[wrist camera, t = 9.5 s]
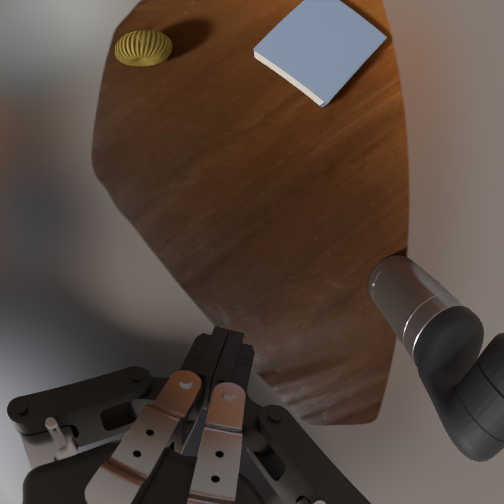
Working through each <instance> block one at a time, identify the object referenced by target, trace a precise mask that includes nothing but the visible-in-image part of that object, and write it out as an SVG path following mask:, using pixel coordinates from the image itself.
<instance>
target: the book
mask: <svg viewBox="0 0 504 504" xmlns="http://www.w3.org/2000/svg"><path fill="white" fill-rule="evenodd" d="M386 38H387V37H386V36H385V35H384V34H382V33H381V32H380V31H379V30H378V29H377V28H375V27H374V26H373V25H372V24H370V23H369V22H368V21H367V20H365V19H364V18H363V17H362V16H360V15H359V14H358V13H356V12H355V11H354V10H352V9H351V8H349V7H348V6H347V5H345V4H344V3H342V2H341V1H340V0H304V1H303V2H302V3H301V4H299V5H298V6H297V7H296V8H295V9H294V10H293V11H292V12H291V13H289V14H288V15H287V16H286V17H285V18H284V19H283V20H282V21H281V22H280V23H279V24H278V25H277V26H276V27H275V28H274V29H273V30H272V31H271V32H270V33H269V34H268V35H267V36H266V37H265V38H264V39H263V40H262V41H261V42H260V43H259V44H258V45H257V46H256V47H255V48H254V49H253V50H254V55H255V56H254V57H255V58H256V59H258V60H259V61H261V62H262V63H264V64H265V65H266V66H268V67H269V68H271V69H272V70H274V71H275V72H276V73H278V74H279V75H281V76H282V77H283V78H285V79H286V80H287V81H289V82H290V83H292V84H293V85H294V86H296V87H297V88H298V89H299V90H301V91H302V92H303V93H305V94H306V95H307V96H308V97H310V98H311V99H312V100H313V101H315V102H316V103H317V104H318V105H320V106H321V107H322V108H323V107H324V106H325V105H327V104H328V103H329V102H330V100H331V99H332V98H333V97H334V96H335V95H336V94H337V92H338V91H339V90H340V89H341V88H342V87H343V86H344V85H345V83H346V82H347V81H348V80H349V79H350V78H351V77H352V76H353V74H354V73H355V72H356V71H357V70H358V69H359V68H360V67H361V66H362V64H363V63H364V62H365V61H366V60H367V59H368V58H369V57H370V56H371V55H372V53H373V52H374V51H375V50H376V49H377V48H378V47H379V46H380V45H381V44H382V43H383V42H384V40H385V39H386Z"/></svg>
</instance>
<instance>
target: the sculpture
mask: <svg viewBox="0 0 504 504" xmlns="http://www.w3.org/2000/svg"><path fill="white" fill-rule="evenodd" d="M125 44H126V45H125ZM149 44H150V45H149ZM140 45H141V46H140ZM153 45H154V47H153ZM139 46H140V51H139ZM149 46H150V47H149ZM128 47H129V48H128ZM135 47H136V50H135ZM157 47H158V48H157ZM123 50H124V51H123ZM171 51H172V43H171V40H170V39H169V37H168V36H166V35H165V34H163V33H160V32H157V31H152V30H151V31H150V30H147V31H146V30H140V31H134V32H131V33H128V34H126V35H125V36H123V37H122V38H121V39H120V40H119V41H118V42H117V44H116V46H115V55H116V57H117V59H118V60H119V61H120V62H122V63H124V64H127V65H132V66H140V65H141V66H150V65H154V64H158V63H161V62H163V61H164V60H165V59H167V58H168V56H169V55H170V54H171ZM146 53H147V54H146Z"/></svg>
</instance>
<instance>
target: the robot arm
mask: <svg viewBox="0 0 504 504" xmlns="http://www.w3.org/2000/svg"><path fill="white" fill-rule="evenodd" d="M368 290H369V294H370V297H371V298H372V300H373V301H374V303H375V304H376V306H377V307H378V309H379V310H380V312H381V313H382V315H383V316H384V317H385V319H386V320H387V322H388V323H389V325H390V326H391V328H392V329H393V331H394V332H395V334H396V335H397V337H398V338H399V340H400V341H401V342H402V344H403V346H404V347H405V349H406V350H407V352H408V353H409V355H410V356H411V358H412V359H413V361H414V362H415V364H416V366H417V368H418V373H419V377H420V379H421V381H422V383H423V384H424V386H425V388H426V390H427V392H428V394H429V396H430V398H431V400H432V402H433V405H434V407H435V409H436V411H437V413H438V416H439V418H440V420H441V422H442V424H443V426H444V428H445V430H446V432H447V434H448V435H449V437H450V438H451V440H452V442H453V443H454V445H455V446H456V447H457V448H458V449H459V450H460V452H462V453H463V454H464V455H465V456H466V457H468V458H469V459H471V460H474V461H478V462H482V461H487V460H489V459H491V458H492V457H494V456H495V455H496V454H497V453H499V452H500V451H501V450H502V449H503V448H504V333H500V334H498V335H497V336H495V337H494V339H493V340H492V341H491V342H490V343H489V344H488V346H487V347H486V348H485V350H484V351H483V352H482V354H481V355H480V356H479V353H480V350H481V347H482V343H483V338H484V329H483V325H482V323H481V321H480V319H479V318H478V317H477V315H476V314H474V313H473V312H472V311H471V310H470V309H469V308H468V307H467V306H466V305H464V304H463V303H462V302H461V301H460V300H459V299H458V298H456V297H455V296H454V295H453V294H452V293H450V292H449V291H448V290H447V289H446V288H445V287H443V286H442V285H441V284H440V283H439V282H438V281H436V280H435V279H434V278H433V277H431V276H430V275H429V274H428V273H426V272H425V271H424V270H423V269H422V268H420V267H419V266H418V265H417V264H415V263H414V262H413V261H412V260H410V259H409V258H407V257H405V256H401V255H394V256H391V257H388V258H386V259H384V260H383V261H381V262H380V263H379V264H378V265H377V266H376V267H375V269H374V270H373V272H372V273H371V276H370V279H369V284H368ZM243 337H244V333H240V332H236V331H232V330H230V332H229V330H228V329H224V328H220V327H216V326H215V328H214V330H213V332H212V335H208V334H205V333H202V334H201V335H199V336H198V337H197V338H196V339H195V341H194V343H193V345H192V347H191V349H190V351H189V352H188V355H187V356H186V358H185V360H184V362H183V364H182V366H181V369H180V370H179V371H177V372H175V373H174V374H172V376H171V377H167V378H158V377H151V374H150V373H149V372H148V370H146V369H145V368H142V367H138V366H132V367H128V368H125V369H122V370H118V371H115V372H112V373H108V374H105V375H102V376H98V377H95V378H91V379H88V380H84V381H81V382H77V383H73V384H69V385H66V386H62V387H58V388H54V389H50V390H46V391H42V392H38V393H34V394H29V395H25V396H20V397H17V398H14V399H13V400H12V401H10V403H9V405H8V407H7V413H8V415H9V417H10V419H11V420H12V422H13V423H14V426H15V428H16V429H17V431H18V433H19V434H20V435H21V438H22V441H23V444H24V448H25V451H26V453H27V456H28V459H29V462H30V465H31V467H32V470H31V471H30V472H29V473H28V474H27V476H26V477H25V480H24V483H23V504H266V503H265V501H264V500H263V498H262V497H261V495H260V494H259V492H258V491H257V490H256V488H255V486H254V485H253V484H252V483H251V482H250V481H249V480H248V479H247V478H246V477H245V476H243V475H242V474H240V473H239V463H240V455H241V446H242V445H243V446H245V447H247V451H248V453H249V455H250V456H251V458H252V459H253V460H254V462H255V463H256V465H257V466H258V468H259V469H260V471H261V472H262V473H263V475H264V476H265V477H266V479H267V480H268V482H269V483H270V484H271V486H272V487H273V488H274V490H275V491H276V492H277V494H278V495H279V496H280V498H281V499H282V500H283V502H284V503H285V504H371V503H370V502H369V501H368V500H367V499H366V498H365V497H364V496H363V495H362V494H361V493H360V492H359V491H358V490H357V489H356V488H355V487H354V486H353V484H351V482H350V481H349V480H348V479H347V478H346V477H345V476H344V475H343V474H342V473H341V472H340V471H339V470H338V468H337V467H336V466H335V465H334V464H333V463H332V462H331V461H330V460H329V458H328V457H327V456H326V455H325V454H324V453H323V452H322V451H321V449H320V448H319V447H318V446H317V445H316V444H315V443H314V441H313V440H312V439H311V438H310V437H309V436H308V434H307V433H306V432H305V431H304V430H303V429H302V427H301V426H300V425H299V424H298V423H297V421H296V420H295V419H294V418H293V417H292V415H291V414H290V413H289V412H288V411H287V410H286V409H285V408H283V407H281V406H277V405H268V406H265V407H262V406H260V405H258V404H256V403H254V402H253V401H252V400H251V399H250V398H249V396H248V394H247V386H248V381H249V377H250V372H251V367H252V363H253V358H254V354H255V353H254V350H253V347H252V345H247V344H243V343H242V341H243ZM478 356H479V358H478ZM208 403H209V405H208ZM207 406H208V410H209V412H208V416H207V421H206V424H205V427H204V431H203V435H202V440H201V444H200V449H199V453H198V457H192V456H184V455H181V454H182V451H183V448H184V446H185V444H186V442H187V440H188V438H189V436H190V434H191V432H192V429H193V427H194V425H195V423H196V421H197V417H198V415H199V413H200V410H201V408H203V409H207ZM125 431H128V432H127V434H126V435H125V437H124V438H123V439H122V440H116V441H112V442H109V443H106V444H104V445H101V446H99V447H96V448H93V449H90V450H88V451H85V452H82V453H79V454H77V452H78V447H81V446H84V445H87V444H91V443H94V442H96V441H99V440H102V439H105V438H109V437H111V436H114V435H117V434H120V433H123V432H125Z"/></svg>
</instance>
